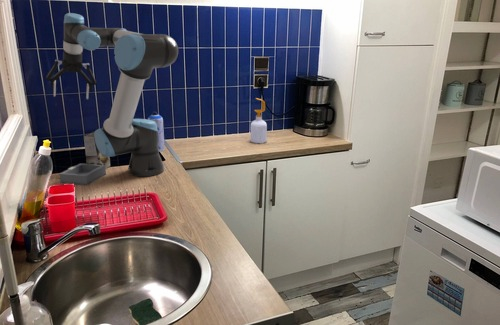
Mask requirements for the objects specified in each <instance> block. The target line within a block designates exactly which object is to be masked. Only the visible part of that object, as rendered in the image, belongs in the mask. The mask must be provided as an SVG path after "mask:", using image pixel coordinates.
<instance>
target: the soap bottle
mask: <svg viewBox="0 0 500 325" xmlns="http://www.w3.org/2000/svg"><path fill="white" fill-rule="evenodd" d="M255 100H258V101H261V109H254V112H256V115H255V119H254V120H252V121H251V123H250V142H251V143H253V144H265V143H266V142H267V141H268V140H267V136H268V134H267V133H268V132H267V130H268V124H267V122H266V121H265V120H264V119H263V116H262V115H261V113H263V112H265V111H266V101H265V100H263V99H262V98H257V97H255Z"/></svg>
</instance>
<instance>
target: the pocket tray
mask: <svg viewBox="0 0 500 325" xmlns="http://www.w3.org/2000/svg"><path fill="white" fill-rule="evenodd" d="M106 175H107V168H105V165H94V164H87V163H82V162H81V163H78V164H77V165H76V164H75V165H74V166H70V167H68V168H67V169H66V170H63V171H62V172H60V173H59V181H60V183H61V182H62V183H61V184H66V183H74V184H73V185H78V186H79V185H80V186H89V185H91V184H92V183H94V182H95V181H97V180H100V179H101V178H102V177H104V176H106Z"/></svg>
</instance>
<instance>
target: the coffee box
mask: <svg viewBox="0 0 500 325" xmlns="http://www.w3.org/2000/svg"><path fill="white" fill-rule="evenodd" d="M94 133H95V131H93V132H91V133H88V134H86V135H83V142H84V149H85V150H84V151H85V159H86V160H85V161H86V164H94V165H105V168H106V169H107V168H110V167H111V158H110V157H105V156H103V155H102V154H101V153H100V152H99V150H98V148H97V146H96V143H95V138H94Z"/></svg>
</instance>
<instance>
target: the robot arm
mask: <svg viewBox="0 0 500 325" xmlns="http://www.w3.org/2000/svg"><path fill="white" fill-rule="evenodd" d="M63 18H64V19H63V44H62V46H63V49H62V50H63V51H62V52H63V53H62V60H60V59H58V58H56V59H55V60H54V64H53V66H52V67H51V69H50V70H49V72H48V73H47V75H46V76H45V77H46V80H47V81H49V82H50V89H51V90H52V89H53V97H56V96H57V94H56V93H57V92H56V91H57V87H56V86H57V85H56V84H57V79H59V78H60V77H61V76H62V75H63V74H64V73H66V72H68V73H73V74H76V73H78V74H79V75H80V76H81V77H82V79H83V80H84V81H85V82H86V83H87V84H86V96H85V97H86V100H89V94H90V93H92V89H93V87H92V86H96V85H97V80H96V78H95V77H94V76H95V75H94V74H93V71H92V70H91V68H90V63H89V62H86V63H83V50H84V49H85V50H88V51H95V50H97V49H99V48H102V47H105V48H106V47H109V48H110V47H111V48H112V47H113V48H114V51H113V53H114V55H115V56H114V61H115V64H116V65H117V67H118V70H119V71H120V75H119V78H118V79H119V80H118V83H117V87H116V90H115V95H114V98H113V102H112V106H111V111H110V114H109V118H107V119H105V120H104V122H103V125H102V128H97V129H96V130H95V131H94V132H95V133H94V138H95V143H96V146H97V148H98V150H99V152H100V153H101V154H102V155H103V156H105V157H116V156H119V155H120V156H121V155H124V154H129V153H131V156H130V160H129V164H128V173H129V175H131V176H134V177H151V176H156V175H161V174H162V173H163V172H164V170H165V167H164V163H163V161H162V158H161V156H160V152H159V147H158V129H157V124H156V122H155V121H152V120H148V118H147V119H146V118H134V117H135V113H136V111H137V107H138V105H139V101H140V97H141V96H142V95H141V94H142V91H143V87H144V84H145V82H146V80H148V79H150V77H151V76H152V73H153V70H154V69H158V68H161V69H162V68H168V67H169V66H171V65H172V64H174V63H175V62H176V60H177V58H178V55H179V46H178V44H177V42H176V40H175V39H174V38H172V36H170V35H167V34H163V33H155V34H153V33H152V34H149V33H148V34H146V33H145V34H144V33H140V32H134V31H130V30H127V29H126V28H121V27H88V26H86V25H85V18H84V16H83V15H81V14H78V13H73V12H68V13H66V14H64V17H63ZM83 48H84V49H83ZM60 65H62V67H61V69H59V71H58V72H56V73H55V71H56V70H57V68H58V67H59V66H60ZM83 67H84V69H85V70H86V71H87V73H88V76H89V77H88V76H87V74H86V73H85V72H84V71H83V70H82V68H83ZM54 73H55V74H54Z"/></svg>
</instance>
